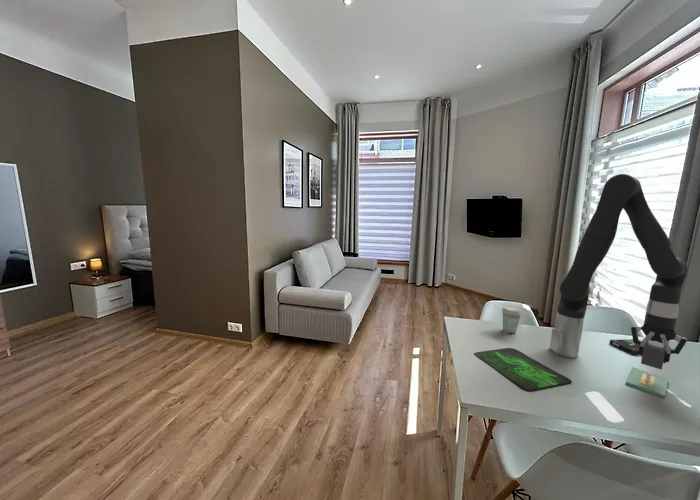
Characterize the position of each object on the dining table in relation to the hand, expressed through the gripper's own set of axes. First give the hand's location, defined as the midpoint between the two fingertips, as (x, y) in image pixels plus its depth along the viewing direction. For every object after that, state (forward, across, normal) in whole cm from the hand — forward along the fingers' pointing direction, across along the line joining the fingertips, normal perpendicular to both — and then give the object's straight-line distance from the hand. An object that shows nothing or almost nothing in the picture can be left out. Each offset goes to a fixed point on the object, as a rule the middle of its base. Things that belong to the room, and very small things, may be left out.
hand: (653, 359), depth 104 cm
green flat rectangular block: (+9, 0, 0) cm, 9 cm away
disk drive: (+10, -7, +33) cm, 36 cm away
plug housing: (+1, 0, 0) cm, 1 cm away
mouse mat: (+9, -34, -27) cm, 44 cm away
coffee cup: (+9, -50, +5) cm, 51 cm away
